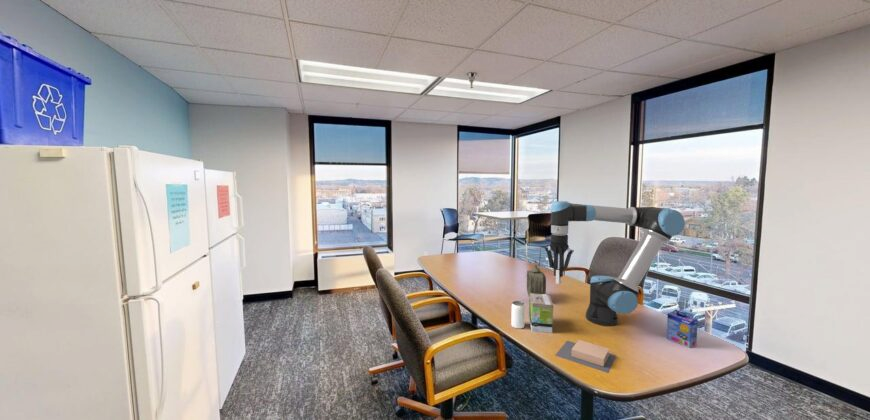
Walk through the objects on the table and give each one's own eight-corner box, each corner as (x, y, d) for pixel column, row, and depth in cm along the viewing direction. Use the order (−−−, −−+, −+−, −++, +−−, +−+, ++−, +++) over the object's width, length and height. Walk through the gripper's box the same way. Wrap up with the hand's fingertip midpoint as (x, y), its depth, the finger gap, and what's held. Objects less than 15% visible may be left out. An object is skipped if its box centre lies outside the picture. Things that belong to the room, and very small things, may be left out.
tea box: (553, 334, 154) (553, 304, 153) (531, 332, 156) (531, 303, 155) (548, 321, 169) (549, 293, 168) (528, 319, 171) (529, 292, 170)
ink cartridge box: (665, 338, 149) (667, 308, 148) (672, 335, 152) (673, 306, 151) (690, 348, 141) (692, 316, 139) (696, 345, 143) (698, 313, 142)
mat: (554, 356, 135) (554, 355, 135) (566, 341, 147) (566, 340, 147) (608, 374, 122) (608, 373, 122) (616, 356, 135) (616, 355, 135)
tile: (571, 349, 133) (603, 359, 126) (578, 339, 141) (609, 348, 133) (571, 356, 134) (603, 367, 126) (578, 347, 141) (609, 356, 134)
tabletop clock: (526, 296, 205) (527, 257, 203) (541, 296, 204) (542, 257, 202) (529, 304, 191) (530, 263, 189) (545, 305, 190) (546, 263, 188)
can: (522, 330, 159) (522, 306, 158) (509, 327, 162) (509, 303, 161) (526, 325, 164) (526, 302, 163) (513, 322, 168) (514, 299, 167)
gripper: (542, 233, 153) (541, 282, 156) (571, 236, 145) (569, 287, 147) (548, 231, 159) (547, 278, 161) (576, 234, 151) (574, 283, 153)
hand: (558, 282), depth 154 cm, fingers closed
